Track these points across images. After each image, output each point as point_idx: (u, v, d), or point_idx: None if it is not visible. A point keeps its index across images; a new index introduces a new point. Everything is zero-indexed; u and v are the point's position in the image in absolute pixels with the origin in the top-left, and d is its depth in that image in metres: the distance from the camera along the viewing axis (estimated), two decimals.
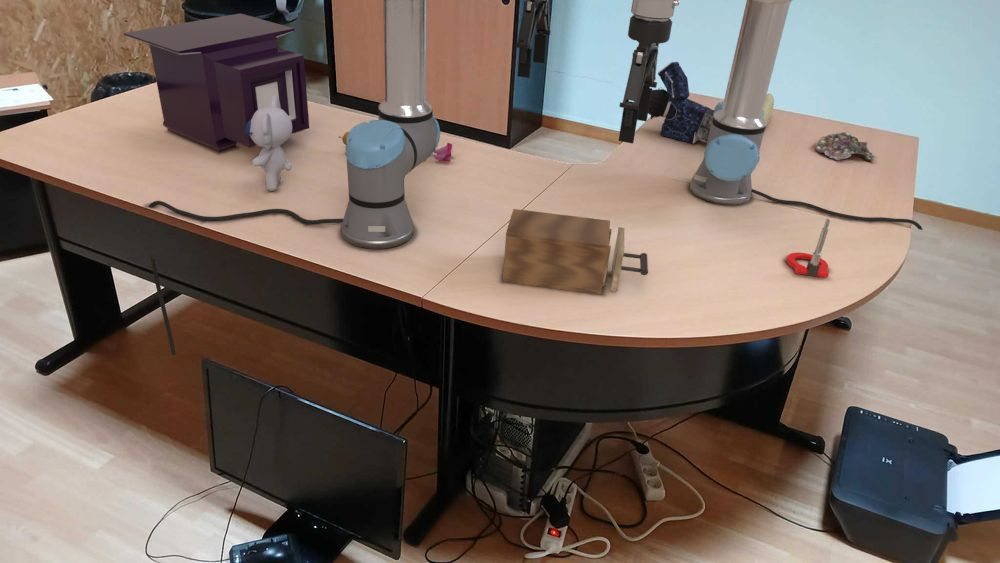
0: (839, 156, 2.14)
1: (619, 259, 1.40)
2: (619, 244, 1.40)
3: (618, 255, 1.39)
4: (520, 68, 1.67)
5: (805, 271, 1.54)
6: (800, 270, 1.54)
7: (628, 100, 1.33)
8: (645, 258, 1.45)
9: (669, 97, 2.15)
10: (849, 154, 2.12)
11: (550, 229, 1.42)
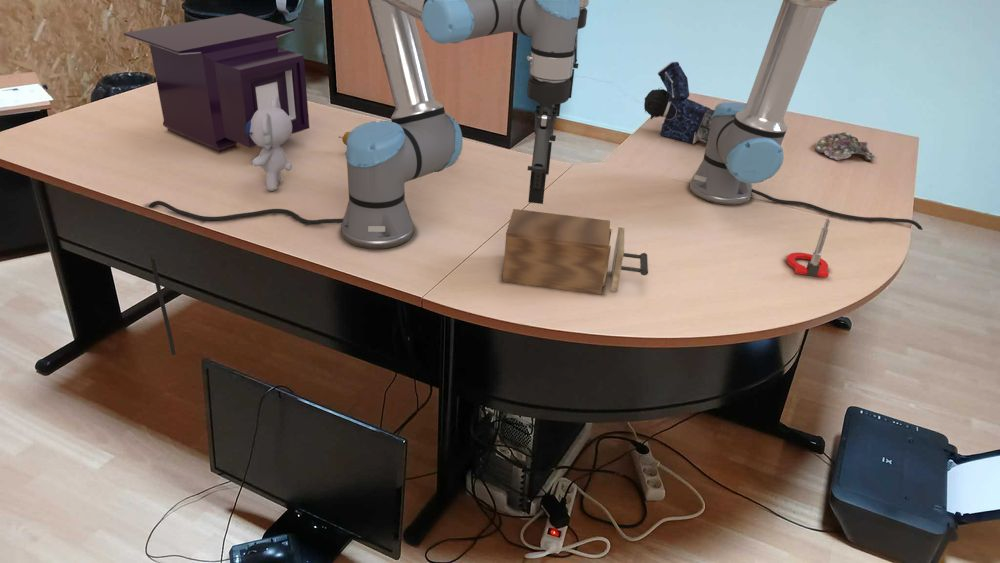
0: (839, 156, 2.14)
1: (619, 259, 1.40)
2: (619, 244, 1.40)
3: (618, 255, 1.39)
4: None
5: (805, 271, 1.54)
6: (800, 270, 1.54)
7: (549, 136, 1.42)
8: (645, 258, 1.45)
9: (669, 97, 2.15)
10: (849, 154, 2.12)
11: (550, 229, 1.42)
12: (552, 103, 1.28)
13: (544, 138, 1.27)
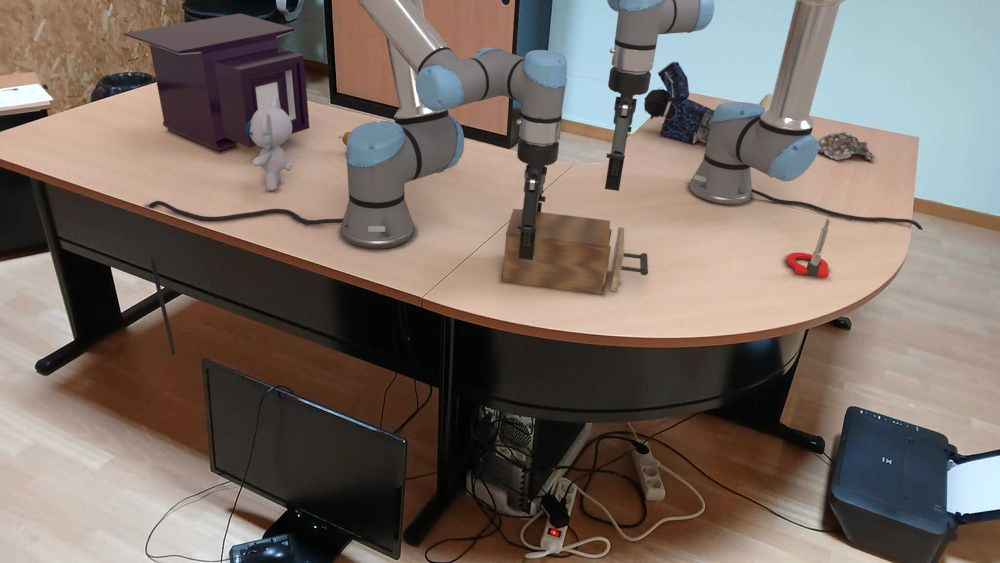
0: (839, 156, 2.14)
1: (619, 259, 1.40)
2: (619, 244, 1.40)
3: (618, 255, 1.39)
4: (609, 180, 1.39)
5: (805, 271, 1.54)
6: (800, 270, 1.54)
7: (539, 197, 1.47)
8: (645, 258, 1.45)
9: (669, 97, 2.15)
10: (849, 154, 2.12)
11: (550, 229, 1.42)
12: (540, 165, 1.33)
13: (533, 201, 1.33)
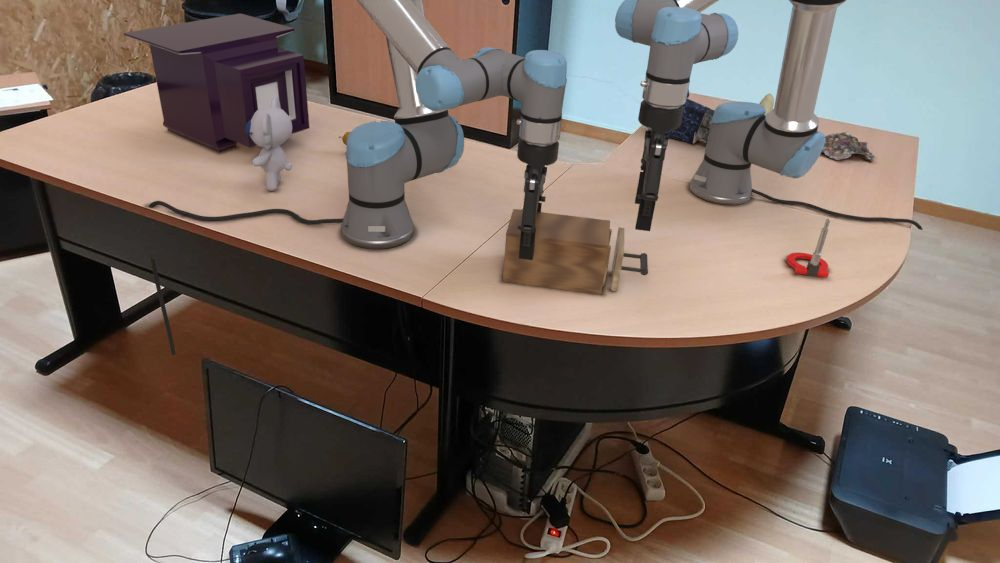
0: (839, 156, 2.14)
1: (619, 259, 1.40)
2: (619, 244, 1.40)
3: (618, 255, 1.39)
4: (640, 220, 1.33)
5: (805, 271, 1.54)
6: (800, 270, 1.54)
7: (539, 197, 1.47)
8: (645, 258, 1.45)
9: None
10: (849, 154, 2.12)
11: (550, 229, 1.42)
12: (541, 165, 1.33)
13: (533, 201, 1.33)
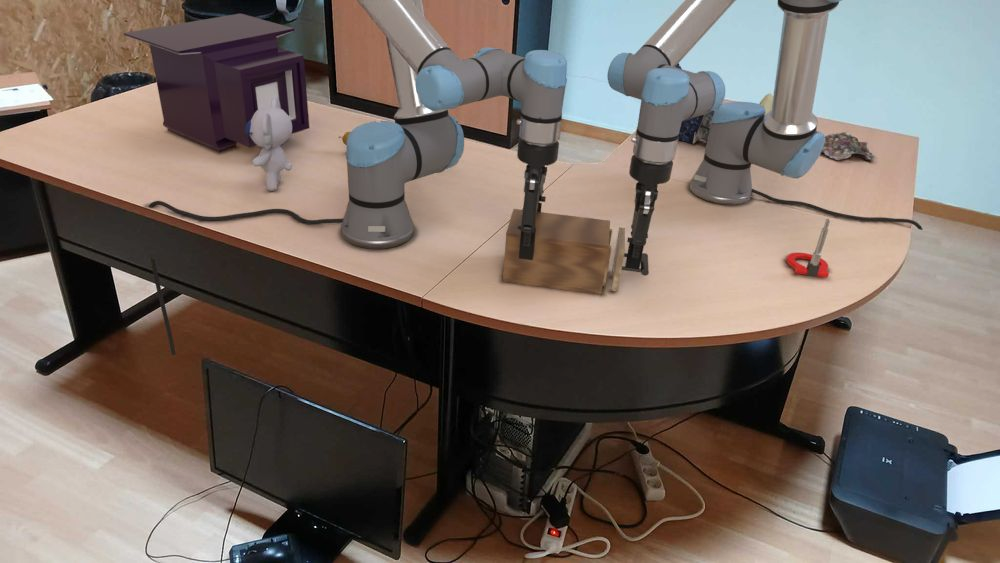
0: (839, 156, 2.14)
1: (619, 259, 1.39)
2: (620, 244, 1.40)
3: (619, 255, 1.39)
4: (629, 262, 1.44)
5: (805, 271, 1.54)
6: (800, 270, 1.54)
7: (539, 197, 1.47)
8: (646, 258, 1.45)
9: None
10: (849, 154, 2.12)
11: (550, 229, 1.42)
12: (541, 165, 1.33)
13: (533, 201, 1.33)
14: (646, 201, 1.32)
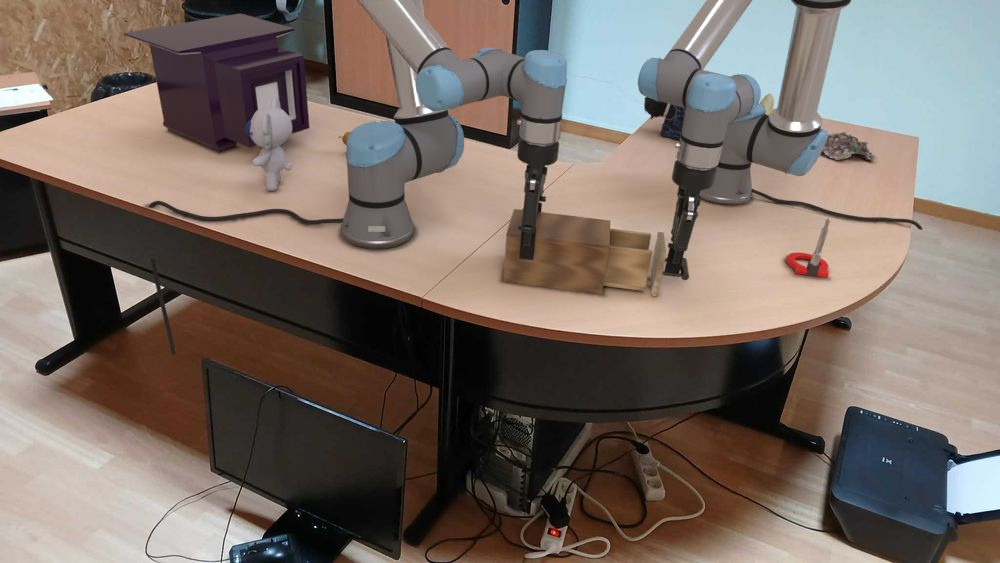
0: (839, 156, 2.14)
1: (660, 264, 1.39)
2: (660, 249, 1.39)
3: (660, 260, 1.38)
4: (669, 267, 1.43)
5: (805, 271, 1.54)
6: (800, 270, 1.54)
7: None
8: (685, 263, 1.44)
9: None
10: (849, 154, 2.12)
11: (551, 229, 1.42)
12: (541, 165, 1.33)
13: (533, 201, 1.33)
14: (690, 207, 1.32)
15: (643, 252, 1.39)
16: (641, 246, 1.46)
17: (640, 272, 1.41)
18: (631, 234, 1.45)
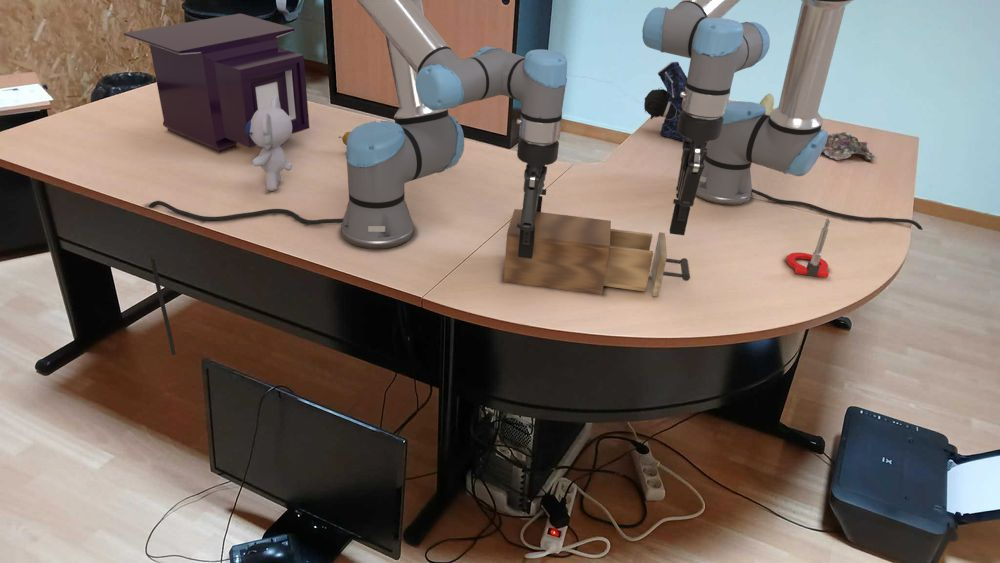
0: (839, 156, 2.14)
1: (661, 264, 1.39)
2: (661, 249, 1.39)
3: (661, 260, 1.38)
4: (674, 225, 1.38)
5: (805, 271, 1.54)
6: (800, 270, 1.54)
7: None
8: (686, 263, 1.44)
9: (669, 97, 2.15)
10: (849, 154, 2.12)
11: (551, 229, 1.42)
12: (540, 164, 1.33)
13: (533, 199, 1.32)
14: (696, 158, 1.27)
15: (644, 252, 1.39)
16: (642, 246, 1.46)
17: (641, 272, 1.41)
18: (632, 234, 1.45)
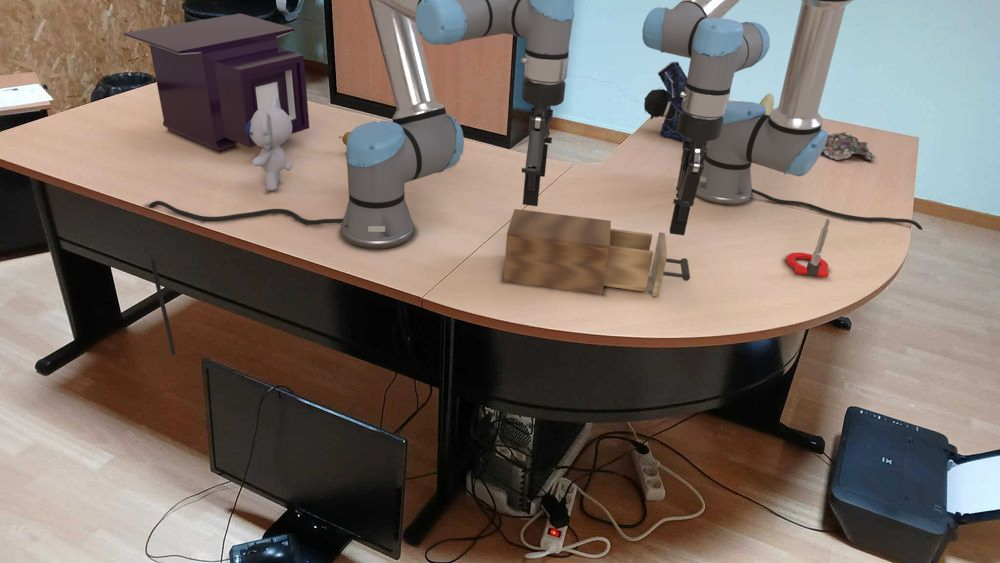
0: (839, 156, 2.14)
1: (661, 264, 1.39)
2: (661, 249, 1.39)
3: (661, 260, 1.38)
4: (674, 225, 1.38)
5: (805, 271, 1.54)
6: (800, 270, 1.54)
7: (545, 138, 1.41)
8: (686, 263, 1.44)
9: (669, 97, 2.15)
10: (849, 154, 2.12)
11: (551, 229, 1.42)
12: (546, 105, 1.27)
13: (538, 140, 1.26)
14: (696, 158, 1.27)
15: (644, 252, 1.39)
16: (642, 246, 1.46)
17: (641, 272, 1.41)
18: (632, 234, 1.45)
